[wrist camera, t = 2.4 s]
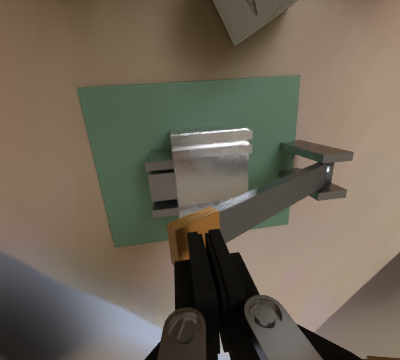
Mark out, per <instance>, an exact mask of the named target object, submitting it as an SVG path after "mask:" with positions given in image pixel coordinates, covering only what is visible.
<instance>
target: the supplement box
mask: <svg viewBox="0 0 400 360" xmlns="http://www.w3.org/2000/svg"><path fill="white" fill-rule="evenodd" d="M297 1H298V0H213V2H214V4H215V6H216V8H217V10H218V12H219V15H220V17H221V19H222V21H223V23H224V25H225V27H226V29H227V31H228V34H229V36H230V38H231V40H232V43H233V45H234V46H237V45H238V44H239V43H241V42H242V41H243V40H245V39H246V38H248V37H249V36H250V35H252V34H253V33H255V32H256V31H257V30H259V29H260V28H262V27H263V26H264V25H266V24H267V23H269V22H270V21H271V20H273V19H274V18H276V17H277V16H278V15H280V14H281V13H282V12H284V11H285V10H287V9H288V8H289V7H291V6H292V5H293V4H294V3H295V2H297Z"/></svg>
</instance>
